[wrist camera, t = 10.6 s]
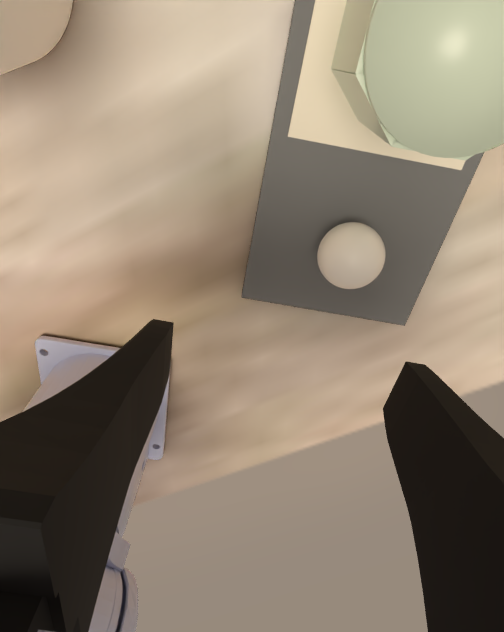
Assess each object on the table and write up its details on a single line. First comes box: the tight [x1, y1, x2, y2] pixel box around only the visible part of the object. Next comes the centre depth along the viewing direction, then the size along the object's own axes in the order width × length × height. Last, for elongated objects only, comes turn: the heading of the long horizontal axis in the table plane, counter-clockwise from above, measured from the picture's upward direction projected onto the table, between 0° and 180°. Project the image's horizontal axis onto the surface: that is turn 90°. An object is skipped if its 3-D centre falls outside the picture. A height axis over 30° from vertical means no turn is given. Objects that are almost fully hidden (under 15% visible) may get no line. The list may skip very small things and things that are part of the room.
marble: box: [317, 222, 385, 289], centre depth 18 cm, size 3×3×3 cm
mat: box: [242, 0, 484, 326], centre depth 18 cm, size 16×9×1 cm, turn 170°
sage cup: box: [331, 0, 504, 160], centre depth 13 cm, size 5×5×6 cm
